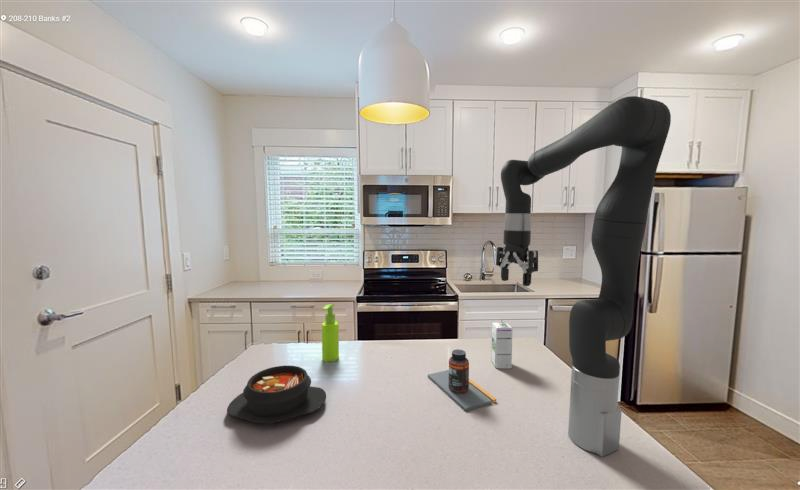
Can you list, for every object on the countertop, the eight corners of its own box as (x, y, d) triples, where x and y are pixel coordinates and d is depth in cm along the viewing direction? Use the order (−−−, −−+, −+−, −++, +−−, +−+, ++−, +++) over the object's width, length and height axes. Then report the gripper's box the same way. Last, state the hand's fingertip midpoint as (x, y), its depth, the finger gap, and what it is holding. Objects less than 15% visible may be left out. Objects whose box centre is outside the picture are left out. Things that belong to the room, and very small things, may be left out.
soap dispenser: (317, 361, 112) (316, 306, 110) (327, 353, 119) (327, 301, 117) (332, 364, 110) (331, 308, 109) (341, 355, 117) (341, 303, 115)
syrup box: (512, 368, 108) (513, 327, 107) (494, 368, 108) (496, 327, 107) (506, 361, 114) (508, 322, 112) (490, 361, 114) (491, 321, 113)
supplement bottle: (467, 384, 96) (468, 348, 95) (469, 394, 90) (470, 356, 89) (447, 382, 97) (448, 347, 96) (448, 393, 91) (449, 355, 90)
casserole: (330, 387, 95) (330, 360, 94) (320, 428, 77) (319, 395, 76) (244, 390, 93) (243, 363, 92) (212, 433, 74) (211, 399, 74)
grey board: (496, 401, 88) (496, 398, 88) (465, 411, 84) (465, 408, 84) (454, 370, 106) (455, 368, 106) (427, 376, 102) (427, 374, 102)
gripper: (546, 229, 88) (543, 286, 90) (509, 228, 101) (507, 278, 102) (526, 230, 85) (524, 289, 86) (490, 228, 98) (489, 279, 99)
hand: (515, 283), depth 94 cm, fingers open, 8 cm apart
